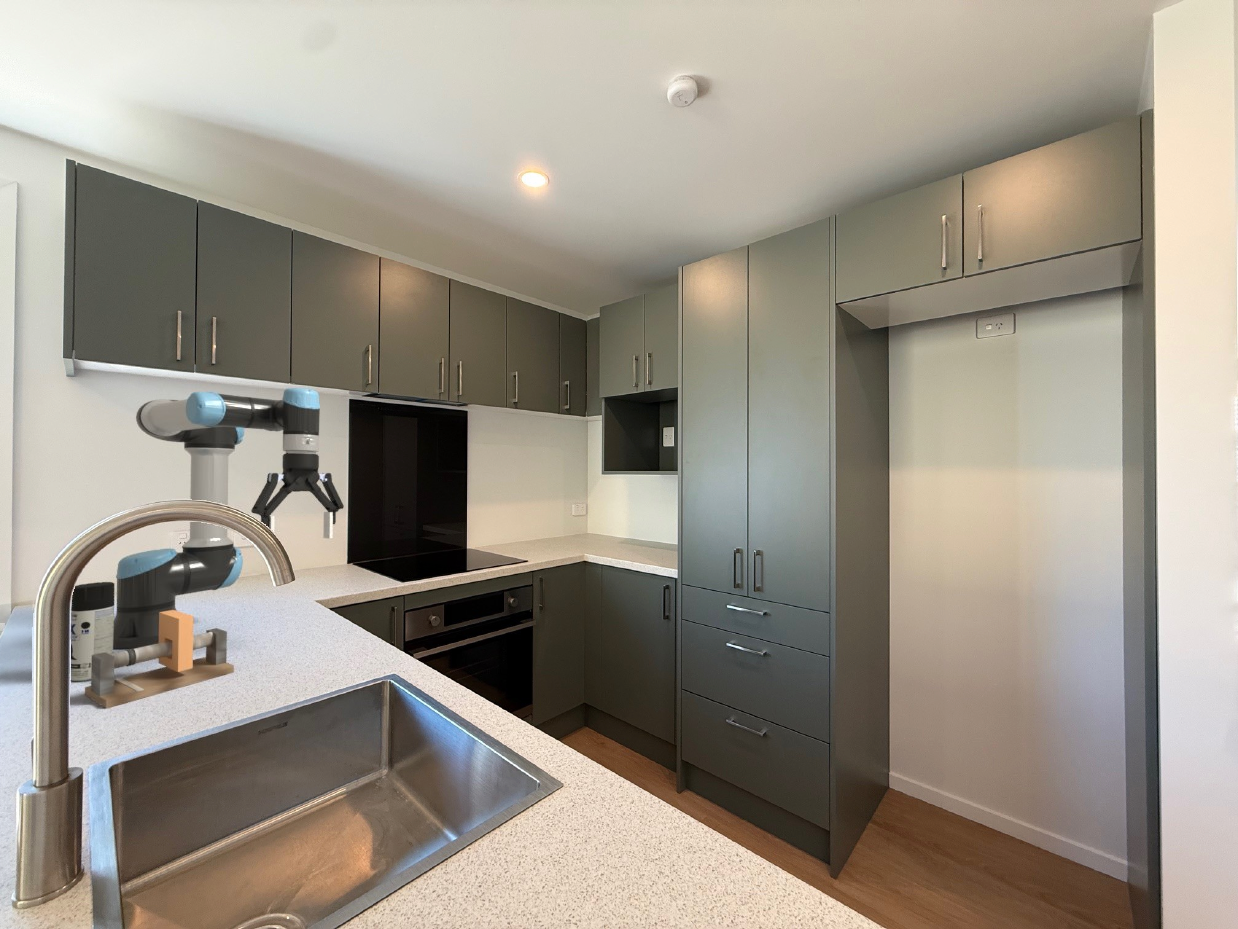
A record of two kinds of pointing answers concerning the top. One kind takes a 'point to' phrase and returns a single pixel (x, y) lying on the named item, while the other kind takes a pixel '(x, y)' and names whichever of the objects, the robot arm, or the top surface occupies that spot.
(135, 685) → the pipe stand
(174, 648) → the collar
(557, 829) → the top surface
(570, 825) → the top surface
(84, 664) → the spray can
